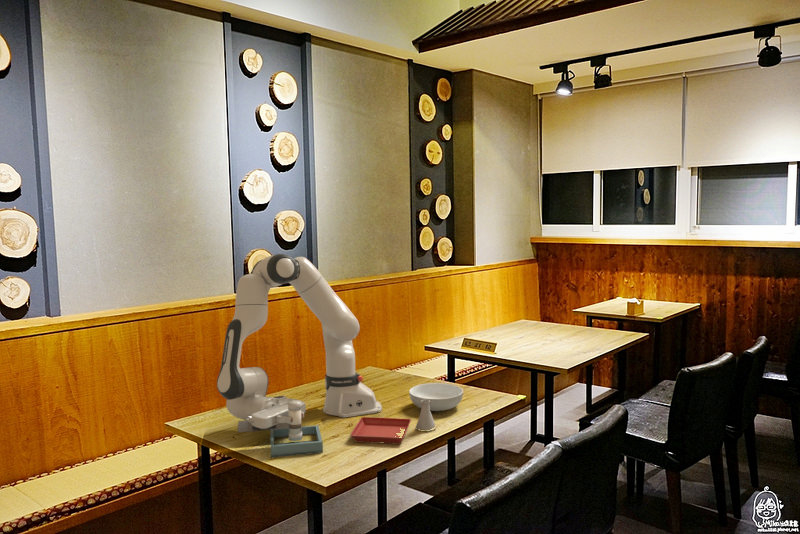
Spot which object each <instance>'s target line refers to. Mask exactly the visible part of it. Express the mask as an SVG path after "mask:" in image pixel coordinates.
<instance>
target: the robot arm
mask: <svg viewBox="0 0 800 534" xmlns="http://www.w3.org/2000/svg"><path fill="white" fill-rule="evenodd" d="M284 284H290V285H291V286H292V287H293V288H294V290H295V291H296V292H297V294H298V296H299V297H300V298H301V299H302V300H303V302H304V303H305V304H306V306H307V307H308V308H309V310H310V311H311V312H312V313H313V314H314V316H315V317H316V318H317V319H318V320H319V321H320V323H321V328H322V338H323V344H324V350H325V367H326V368H325V369H326V373H325V375H324V376H325V378H324V386H325V400H324V405H323V408H322V413H325V414H327V415H330V416H335V417H336V416H337V417H340V418H350V417H351V418H352V417H356V416H364V415H371V414H376V413H377V412H378V413H380V411H381V412H382V410H383V408H382V407H383V406H382V404H381V402H380V401H378V400H377V399H376V396H375V392H374V391H373V390H372V389H371V388H370V387H368V386H367V385H365V384H364V383H362V382H363V381H364V377H363V376H362V375H361V374H360V373H359V372H356V354H355V353H356V352H355V348H354V344H353V340H354V339H356V338H357V336H358V335H359V333H360V328H361V327H360V323H359V320H358V318H356V315H354V313H353V312H352V311H351V310H350V308H349V307H348V306H347V304H346V303H345V302H344V301H343V300H342V299H341V298H340V296H338V294H336V292H335V291H334V290H333V288H332V287H331V286H330V284H329V283H328V281H327V280H326V279H325V278H324V276H323V274H322V273H321V272H320V271H319V270H318V269H317V267H316V266H315V265H314V264H313V263H312V262H311V261H310V260H309V259H308V258H306V257H304V256H296V257H294V258H293V257H291V256H289V255H288V254H285V253H276V254H274V255H273V254H272V255H269V256H266V257H264V258H262V259H261V260H258V261H257V262H256V263H255V264H254V265H253V267H252V270H251V271H250V273H248V274H244V275H242V276H241V277H240V278H239V280H238V281H237V286H236V293H235V294H236V295H235V306H234V308H235V309H234V315H233V318H232V320H231V321H230V322H229V324H228V325H227V328H226V333H225V338H224V345H223V352H222V358H221V364H220V368H219V369H220V370H219V373H218V376H217V379H216V389H217V391H218V392H219V394H220V395H221V396H222V398H224V399H225V400H226V404H225V405H226V408H227V409H226V410H227V411H228V413H229V414H230V415H232V416H233V417H235V418H238V419H240V420H242V421H245V420H246V422H250V423H251V424H252V425H253V426H255V427H257V428H260V429H267V428H269V427H272V426H274V425H276V424H279V423H291V422H293V417H290V416H289V411H288V402H289V401H293V400H297V399H295V398H288V397H287V396H286V395H279V396H267V393H268V387H269V376H268V374H267V372H266V370H265V369H263V367H259V366H254V367H253V366H251V367H249V366H248V367H242V368H241V367H240V363H241V361H240V360H241V355H242V346H243V343H244V341H245V340H246V338H247V337H249V336H250V335H252V334H253V333H256V332H258V331H259V330H260V329H262V328H263V327H264V326H265V325H266V323H267V320H268V317H269V316H268V315H269V314H268V313H269V298H268V297H269V292H270V290H271V288H275V287H276V288H277V287H279V286H282V285H284ZM298 400H299V401H301V406H302V408H301V419H303V418H305V413H306V412H307V411H306V402H305V401H303V400H300V399H298ZM378 413H377V414H378Z"/></svg>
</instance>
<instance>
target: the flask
mask: <svg viewBox="0 0 800 534" xmlns="http://www.w3.org/2000/svg"><path fill="white" fill-rule="evenodd" d="M421 403H422V408H420V413H419V417H418V420H417V422H416V425H415V428H417V429H420V430H430V429H432V428H434V427H435V425H436V423H435V420H434V417H433V415H432V411H430V407H429V403H430V400H421Z"/></svg>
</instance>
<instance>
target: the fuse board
mask: <svg viewBox="0 0 800 534" xmlns="http://www.w3.org/2000/svg"><path fill="white" fill-rule="evenodd" d="M237 425H238V426H237V433H248V432H257V431H258V432H259V431H270V429H280V428H289V423H279V424H276V425H274V426H272V427H269V428H267V429H260V428H257V427H255V426H253V425H252V424H251V423H250V422H246V420H238V424H237Z"/></svg>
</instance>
